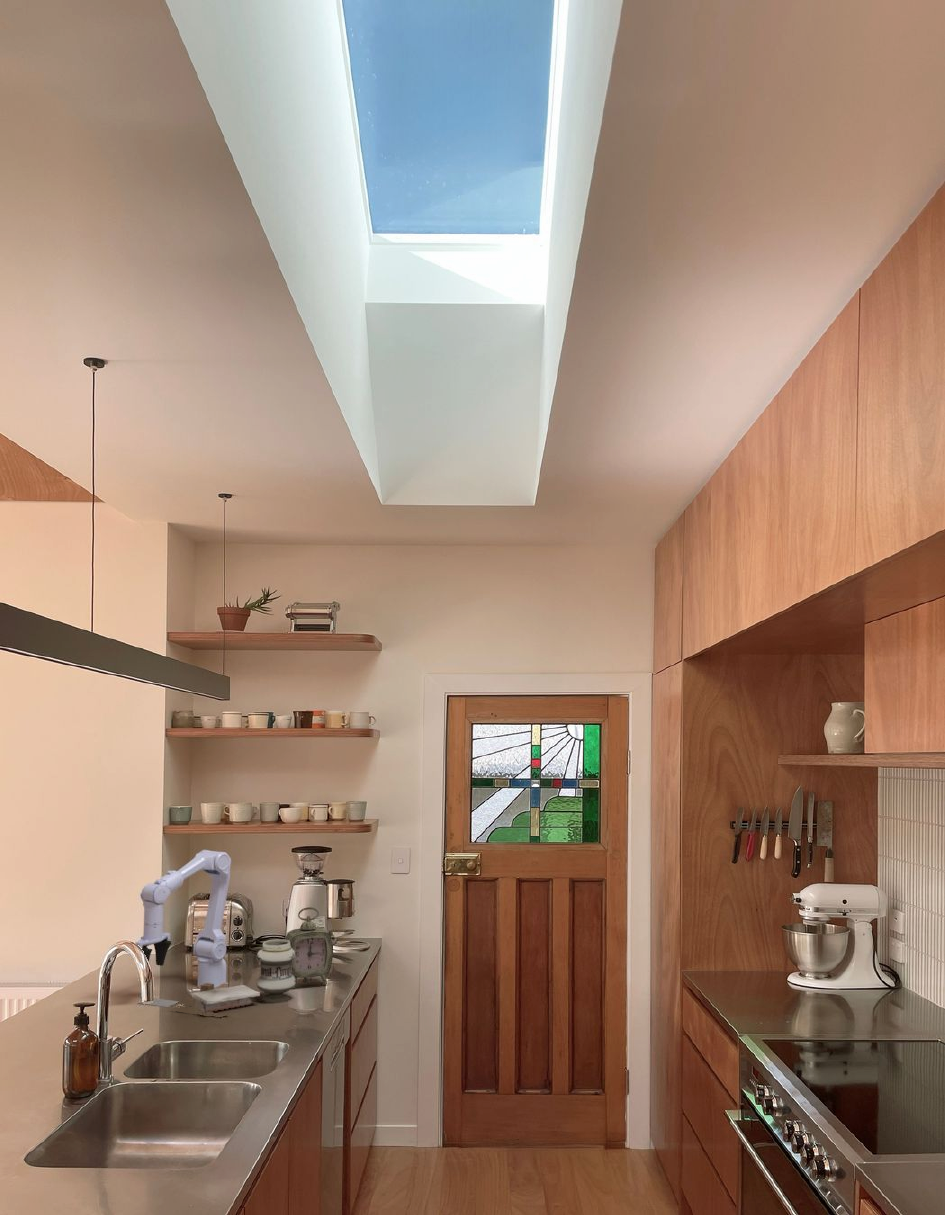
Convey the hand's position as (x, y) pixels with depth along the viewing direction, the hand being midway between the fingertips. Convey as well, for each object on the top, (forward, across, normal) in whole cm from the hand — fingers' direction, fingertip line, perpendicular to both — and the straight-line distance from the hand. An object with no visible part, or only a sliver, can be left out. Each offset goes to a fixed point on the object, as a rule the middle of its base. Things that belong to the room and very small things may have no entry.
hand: (152, 968), depth 331 cm
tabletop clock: (+11, -36, +34) cm, 51 cm away
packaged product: (+8, -6, +20) cm, 22 cm away
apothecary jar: (+11, -16, +34) cm, 40 cm away
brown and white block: (+11, -7, +18) cm, 22 cm away
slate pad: (+10, 0, +3) cm, 11 cm away
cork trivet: (+10, +2, +20) cm, 22 cm away
